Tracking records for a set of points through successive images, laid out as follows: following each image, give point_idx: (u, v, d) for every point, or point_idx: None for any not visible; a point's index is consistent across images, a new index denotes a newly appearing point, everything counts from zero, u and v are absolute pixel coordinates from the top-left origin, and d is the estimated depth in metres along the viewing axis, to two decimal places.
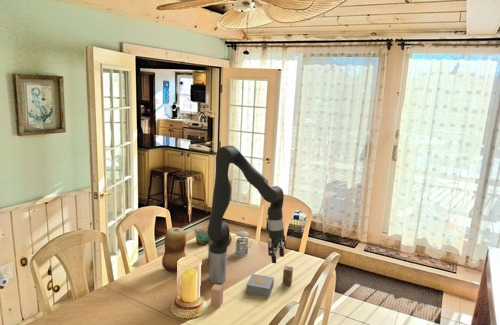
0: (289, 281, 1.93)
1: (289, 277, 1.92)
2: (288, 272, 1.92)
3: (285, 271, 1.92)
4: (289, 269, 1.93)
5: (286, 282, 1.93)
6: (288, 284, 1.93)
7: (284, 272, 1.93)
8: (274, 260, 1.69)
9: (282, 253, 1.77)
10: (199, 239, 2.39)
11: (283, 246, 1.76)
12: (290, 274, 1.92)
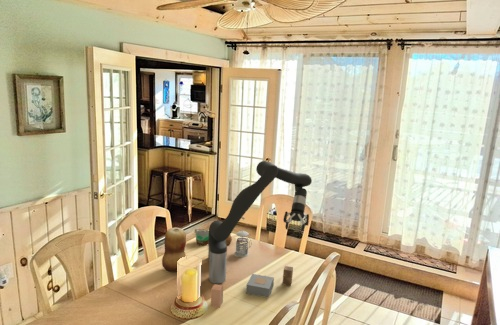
0: (289, 281, 1.93)
1: (289, 277, 1.92)
2: (288, 272, 1.92)
3: (285, 271, 1.92)
4: (289, 269, 1.93)
5: (286, 282, 1.93)
6: (288, 284, 1.93)
7: (284, 272, 1.93)
8: None
9: None
10: (199, 239, 2.39)
11: None
12: (290, 274, 1.92)
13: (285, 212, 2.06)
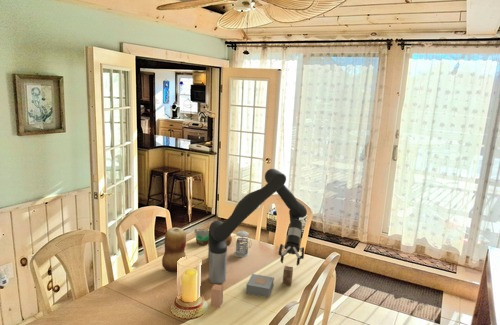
0: (289, 281, 1.93)
1: (289, 277, 1.92)
2: (288, 272, 1.92)
3: (285, 271, 1.92)
4: (289, 269, 1.93)
5: (286, 282, 1.93)
6: (288, 284, 1.93)
7: (284, 272, 1.93)
8: None
9: None
10: (199, 239, 2.39)
11: None
12: (290, 274, 1.92)
13: (280, 245, 2.04)
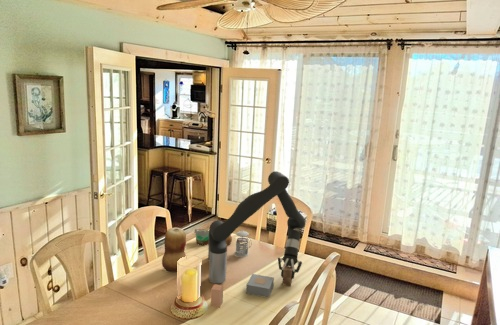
0: (289, 281, 1.93)
1: (289, 277, 1.92)
2: (288, 271, 1.92)
3: (285, 271, 1.92)
4: (289, 269, 1.93)
5: (285, 282, 1.93)
6: (288, 284, 1.93)
7: (284, 272, 1.93)
8: None
9: None
10: (199, 239, 2.39)
11: None
12: (290, 274, 1.92)
13: (278, 259, 1.99)
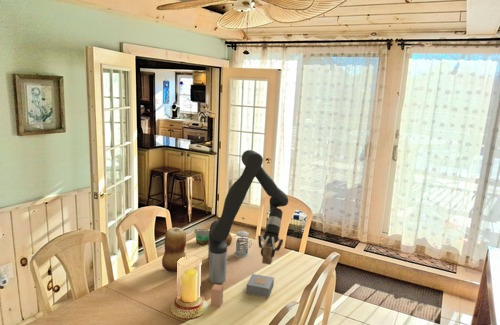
0: (269, 259, 1.84)
1: (269, 255, 1.84)
2: (268, 249, 1.83)
3: (265, 249, 1.84)
4: (269, 247, 1.84)
5: (265, 260, 1.85)
6: (268, 262, 1.84)
7: (264, 250, 1.84)
8: None
9: None
10: (199, 239, 2.39)
11: None
12: (270, 252, 1.83)
13: (258, 236, 1.90)
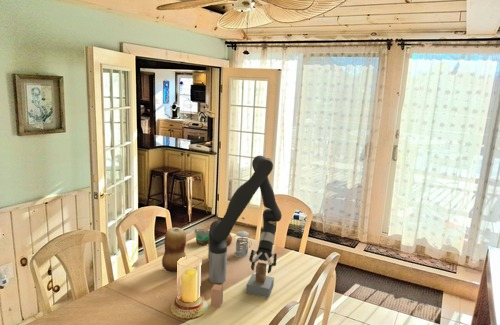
0: (262, 278, 1.84)
1: (262, 274, 1.84)
2: (261, 268, 1.83)
3: (258, 268, 1.84)
4: (262, 266, 1.84)
5: (258, 279, 1.85)
6: (261, 281, 1.85)
7: (257, 269, 1.84)
8: None
9: None
10: (199, 239, 2.39)
11: None
12: (263, 271, 1.83)
13: None
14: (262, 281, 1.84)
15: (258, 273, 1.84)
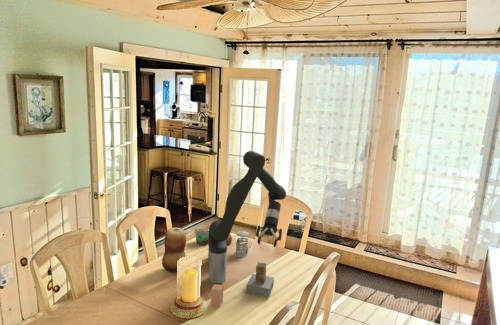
0: (262, 278, 1.84)
1: (262, 274, 1.84)
2: (261, 268, 1.83)
3: (258, 268, 1.84)
4: (262, 266, 1.84)
5: (258, 279, 1.85)
6: (261, 281, 1.85)
7: (257, 269, 1.84)
8: None
9: (260, 241, 1.97)
10: (199, 239, 2.39)
11: None
12: (263, 271, 1.83)
13: (258, 226, 2.00)
14: (262, 281, 1.84)
15: (258, 273, 1.84)
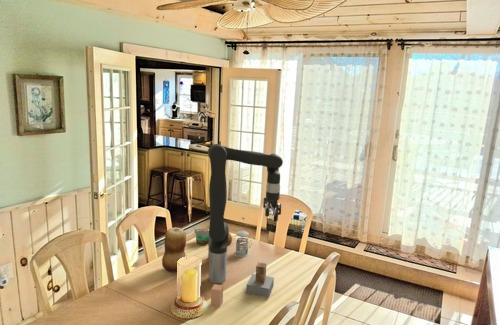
0: (262, 278, 1.84)
1: (262, 274, 1.84)
2: (261, 268, 1.83)
3: (258, 268, 1.84)
4: (262, 266, 1.84)
5: (258, 279, 1.85)
6: (261, 281, 1.85)
7: (257, 269, 1.84)
8: None
9: (268, 213, 2.00)
10: (199, 239, 2.39)
11: None
12: (263, 271, 1.83)
13: (264, 198, 2.00)
14: (262, 281, 1.84)
15: (258, 273, 1.84)
